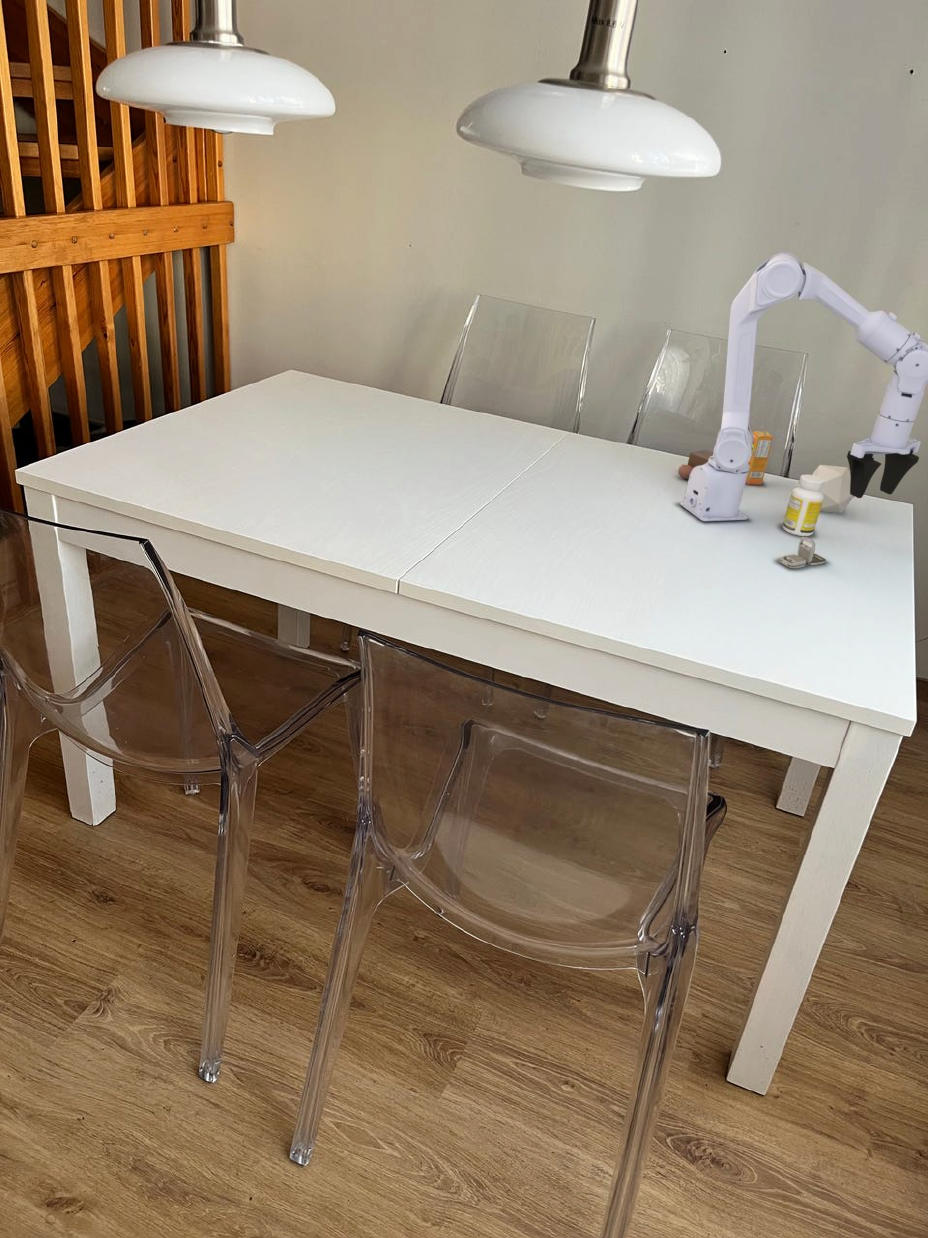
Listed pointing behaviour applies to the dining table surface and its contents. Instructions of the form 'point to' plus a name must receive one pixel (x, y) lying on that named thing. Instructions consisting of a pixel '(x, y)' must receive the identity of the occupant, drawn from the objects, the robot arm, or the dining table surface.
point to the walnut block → (699, 458)
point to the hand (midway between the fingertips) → (870, 494)
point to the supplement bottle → (804, 506)
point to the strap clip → (802, 556)
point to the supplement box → (759, 457)
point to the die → (834, 487)
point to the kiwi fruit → (685, 471)
